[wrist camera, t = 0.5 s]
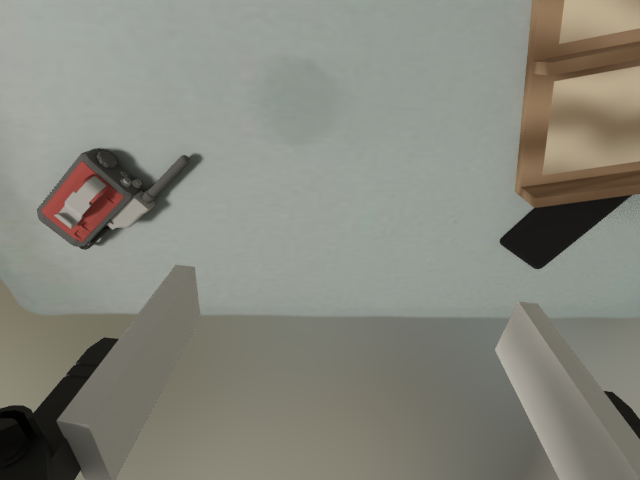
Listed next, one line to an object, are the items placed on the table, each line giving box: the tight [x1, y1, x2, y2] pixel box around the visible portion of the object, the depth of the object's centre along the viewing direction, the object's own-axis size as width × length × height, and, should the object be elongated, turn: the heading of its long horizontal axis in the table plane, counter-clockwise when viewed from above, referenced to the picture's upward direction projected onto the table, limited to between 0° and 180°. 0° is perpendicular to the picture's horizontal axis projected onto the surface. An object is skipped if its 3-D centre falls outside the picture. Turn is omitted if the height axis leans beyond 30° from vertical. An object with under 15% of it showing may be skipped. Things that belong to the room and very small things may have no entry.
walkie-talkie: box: [37, 148, 189, 250], centre depth 39 cm, size 9×4×20 cm
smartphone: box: [500, 195, 632, 269], centre depth 38 cm, size 7×1×15 cm
